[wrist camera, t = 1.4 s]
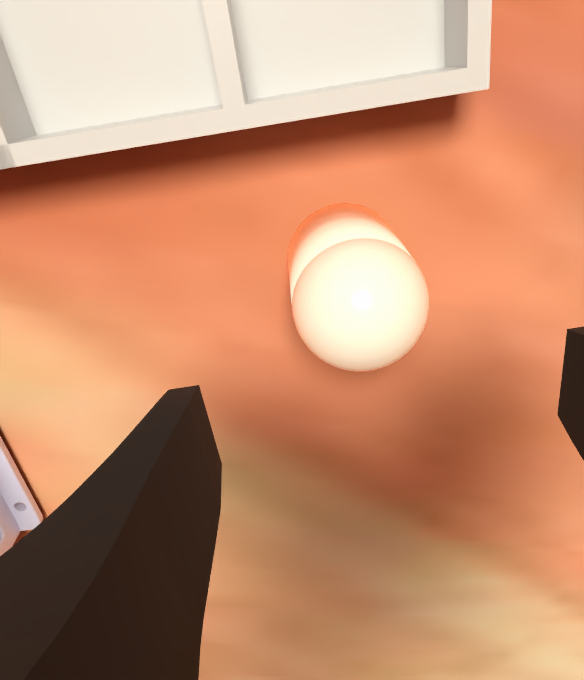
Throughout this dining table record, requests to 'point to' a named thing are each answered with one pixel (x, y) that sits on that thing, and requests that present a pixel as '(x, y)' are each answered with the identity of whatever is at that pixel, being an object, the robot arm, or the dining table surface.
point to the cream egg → (355, 289)
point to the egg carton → (219, 66)
